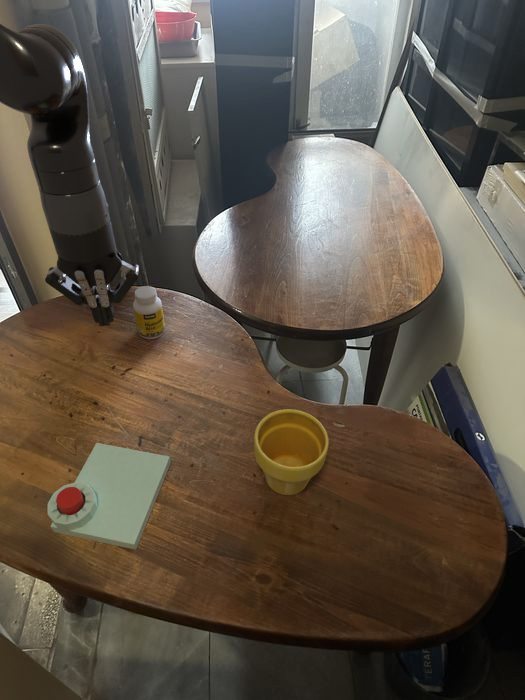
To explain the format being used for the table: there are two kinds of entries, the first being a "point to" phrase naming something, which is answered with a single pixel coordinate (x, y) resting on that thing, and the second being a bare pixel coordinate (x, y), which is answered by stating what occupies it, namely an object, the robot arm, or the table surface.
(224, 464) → the table surface
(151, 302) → the supplement bottle
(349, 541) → the table surface
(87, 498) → the pale green flat piece
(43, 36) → the robot arm
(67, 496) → the button
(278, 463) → the flower pot
